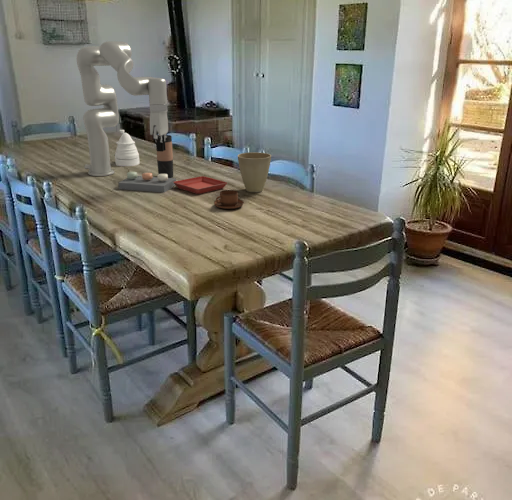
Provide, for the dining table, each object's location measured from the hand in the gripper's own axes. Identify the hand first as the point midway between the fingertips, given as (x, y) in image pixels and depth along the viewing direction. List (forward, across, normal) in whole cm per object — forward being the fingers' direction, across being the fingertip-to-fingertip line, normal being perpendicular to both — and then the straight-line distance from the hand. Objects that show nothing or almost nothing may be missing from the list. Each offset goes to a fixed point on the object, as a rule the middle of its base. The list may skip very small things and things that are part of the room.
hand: (161, 150), depth 230 cm
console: (+17, 0, -8) cm, 19 cm away
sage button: (+14, 0, -15) cm, 21 cm away
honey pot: (+17, -43, -39) cm, 61 cm away
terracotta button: (+14, 0, -8) cm, 16 cm away
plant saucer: (+18, -4, +16) cm, 25 cm away
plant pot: (+17, -7, +41) cm, 45 cm away
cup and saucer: (+18, +20, +37) cm, 46 cm away
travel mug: (+17, -20, -7) cm, 27 cm away
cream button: (+14, 0, 0) cm, 14 cm away
